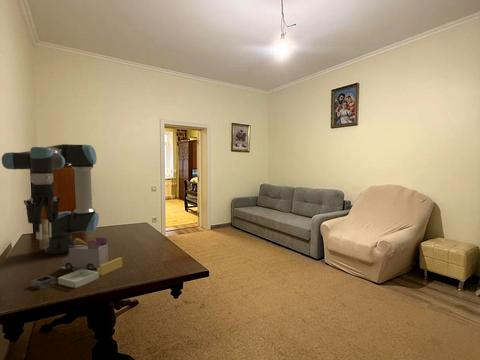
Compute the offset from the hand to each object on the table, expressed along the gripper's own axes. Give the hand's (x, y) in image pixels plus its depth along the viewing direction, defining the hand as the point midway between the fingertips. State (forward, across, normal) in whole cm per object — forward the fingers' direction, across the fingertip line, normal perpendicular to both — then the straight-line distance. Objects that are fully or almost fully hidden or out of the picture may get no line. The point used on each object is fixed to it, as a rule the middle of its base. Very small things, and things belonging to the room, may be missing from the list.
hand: (44, 237), depth 111 cm
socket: (+21, 0, 0) cm, 21 cm away
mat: (+21, +22, -1) cm, 30 cm away
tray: (+21, +8, -10) cm, 24 cm away
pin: (+4, 0, 0) cm, 4 cm away
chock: (+20, +22, -13) cm, 33 cm away
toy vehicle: (+20, +19, 0) cm, 28 cm away
